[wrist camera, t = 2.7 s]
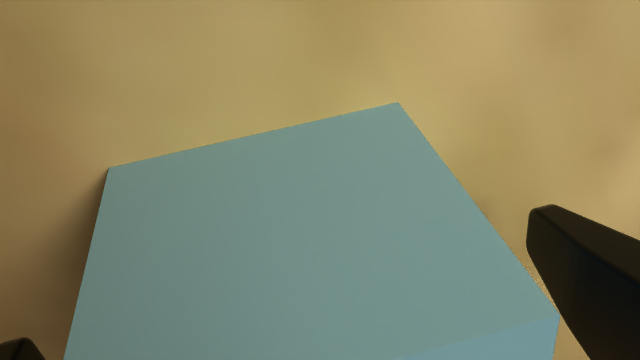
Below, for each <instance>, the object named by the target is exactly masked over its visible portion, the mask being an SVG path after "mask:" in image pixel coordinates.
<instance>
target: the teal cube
mask: <svg viewBox="0 0 640 360" xmlns="http://www.w3.org/2000/svg"><path fill="white" fill-rule="evenodd" d="M559 319H560V314H559V313H558V311H557V310H556V309H555V307H554V306H553V305H552V303H551V302H550V301H549V300H548V298H547V297H546V296H545V294H544V293H543V292H542V290H541V289H540V288H539V286H538V285H537V284H536V282H535V281H534V280H533V279H532V277H531V276H530V275H529V273H528V272H527V271H526V269H525V268H524V267H523V265H522V264H521V263H520V261H519V260H518V259H517V258H516V256H515V255H514V254H513V252H512V251H511V250H510V248H509V247H508V246H507V244H506V243H505V242H504V241H503V239H502V238H501V237H500V235H499V234H498V233H497V231H496V230H495V229H494V227H493V226H492V225H491V223H490V222H489V221H488V220H487V218H486V217H485V216H484V214H483V213H482V212H481V210H480V209H479V208H478V206H477V205H476V204H475V202H474V201H473V200H472V199H471V197H470V196H469V195H468V193H467V192H466V191H465V189H464V188H463V187H462V185H461V184H460V183H459V181H458V180H457V179H456V178H455V176H454V175H453V174H452V172H451V171H450V170H449V168H448V167H447V166H446V164H445V163H444V162H443V160H442V159H441V158H440V157H439V155H438V154H437V153H436V151H435V150H434V149H433V147H432V146H431V145H430V143H429V142H428V141H427V139H426V138H425V137H424V136H423V134H422V133H421V132H420V130H419V129H418V128H417V126H416V125H415V124H414V122H413V121H412V120H411V119H410V117H409V116H408V115H407V113H406V112H405V111H404V109H403V108H402V107H401V105H400V104H399V103H398V102H397V103H392V104H388V105H383V106H379V107H375V108H370V109H366V110H361V111H357V112H353V113H348V114H344V115H339V116H335V117H331V118H326V119H322V120H317V121H313V122H309V123H304V124H300V125H295V126H291V127H287V128H282V129H278V130H273V131H269V132H265V133H260V134H256V135H251V136H247V137H243V138H238V139H234V140H229V141H225V142H221V143H216V144H212V145H207V146H203V147H199V148H194V149H190V150H185V151H181V152H177V153H172V154H168V155H163V156H159V157H155V158H150V159H146V160H141V161H137V162H133V163H128V164H124V165H119V166H115V167H111V168H109V170H108V174H107V178H106V182H105V187H104V191H103V195H102V199H101V203H100V208H99V212H98V216H97V220H96V224H95V229H94V233H93V237H92V241H91V245H90V250H89V254H88V258H87V262H86V266H85V271H84V275H83V279H82V283H81V287H80V292H79V296H78V300H77V304H76V309H75V313H74V317H73V321H72V325H71V330H70V334H69V338H68V342H67V346H66V351H65V355H64V359H63V360H552V358H553V353H554V347H555V341H556V336H557V330H558V325H559Z"/></svg>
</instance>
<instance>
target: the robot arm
mask: <svg viewBox="0 0 640 360" xmlns="http://www.w3.org/2000/svg"><path fill="white" fill-rule="evenodd" d="M526 247H527V251H528V254H529V256H530V258H531V260H532V261H533V263H534V265H535V267H536V269H537V271H538V273H539V275H540V276H541V278H542V280H543V282H544V284H545V286H546V288H547V289H548V291H549V293H550V295H551V297H552V299H553V301H554V303H555V304H556V306H557V308H558V310H559V312H560V314H561V315H562V317H563V319H564V321H565V322H566V324H567V326H568V327H569V329H570V330H571V332H572V333H573V335H574V336H575V338H576V339H577V341H578V342H579V344H580V345H581V347H582V348H583V350H584V351H585V352H586V354H587V355H588V357H589V358H590V360H640V240H637V239H635V238H633V237H630V236H628V235H626V234H623V233H621V232H618V231H616V230H614V229H611V228H609V227H607V226H604V225H602V224H600V223H597V222H595V221H593V220H590V219H588V218H585V217H583V216H581V215H578V214H576V213H574V212H571V211H569V210H567V209H564V208H562V207H559V206H557V205H553V204H551V205H546V206H542V207H538V208H534V209H532V210H531V211H530V213H529V218H528V228H527V237H526ZM0 360H45V358H44V357H43V355H42V354H41V353H40V351H39V350H38V348H37V347H36V346H35V344H34V343H33V342H32V340H31V339H29V338H27V337H25V338H24V337H23V338H19V339H15V340H11V341H7V342H4V343H1V344H0Z"/></svg>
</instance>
